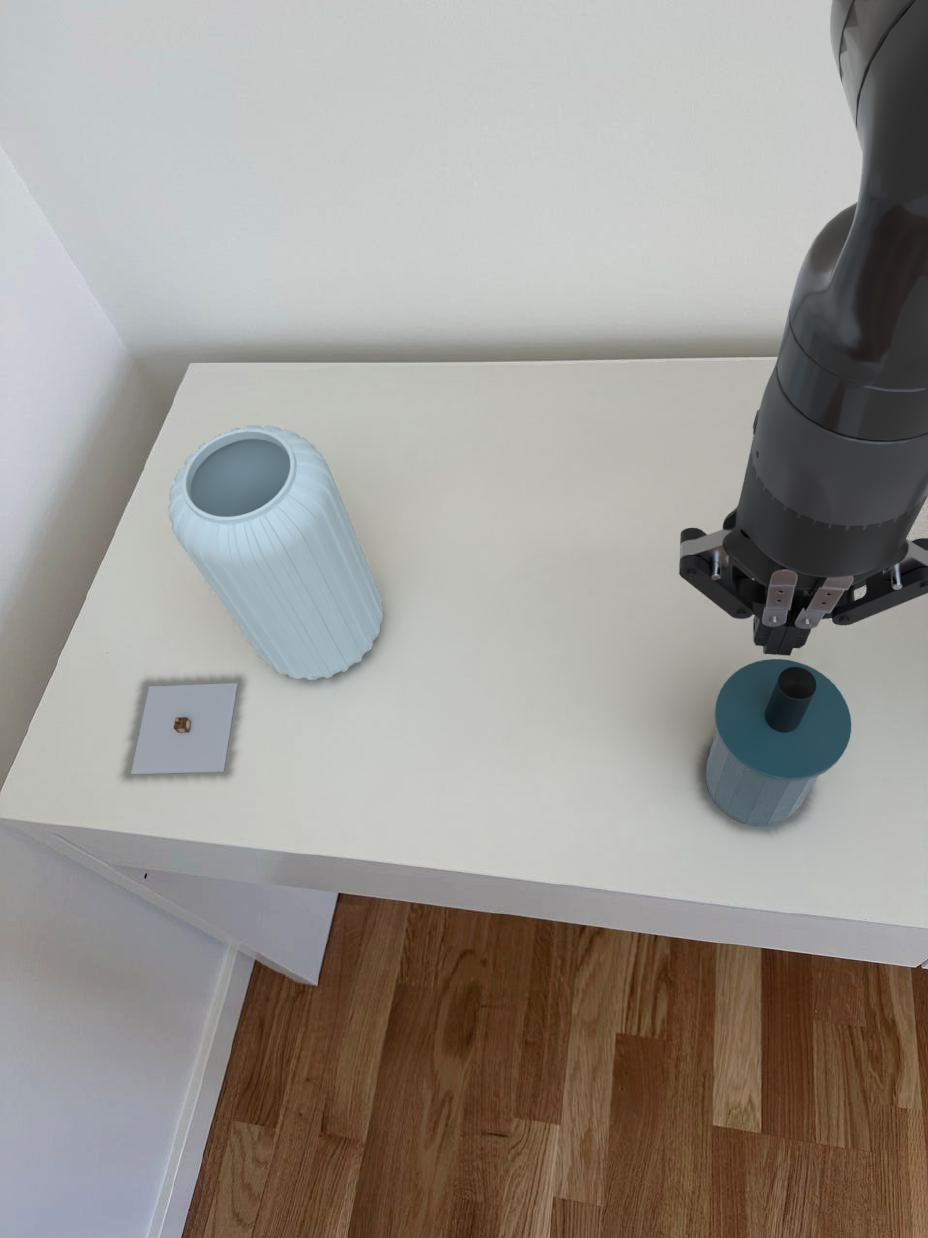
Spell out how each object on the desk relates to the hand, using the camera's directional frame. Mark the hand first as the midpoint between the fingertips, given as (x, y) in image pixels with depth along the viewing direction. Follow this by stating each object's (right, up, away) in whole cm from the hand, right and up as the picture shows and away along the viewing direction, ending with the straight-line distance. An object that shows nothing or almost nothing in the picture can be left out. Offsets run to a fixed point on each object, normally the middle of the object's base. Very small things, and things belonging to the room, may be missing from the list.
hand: (776, 640), depth 54 cm
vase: (-30, 0, +27) cm, 40 cm away
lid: (+2, -5, +5) cm, 8 cm away
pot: (+4, -11, +15) cm, 19 cm away
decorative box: (-42, -8, +24) cm, 49 cm away
